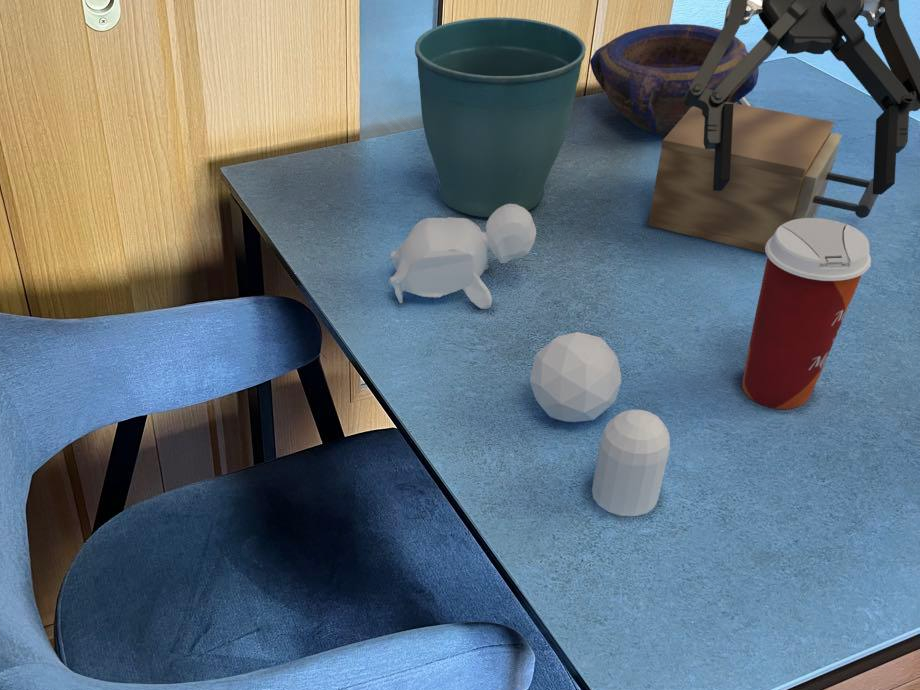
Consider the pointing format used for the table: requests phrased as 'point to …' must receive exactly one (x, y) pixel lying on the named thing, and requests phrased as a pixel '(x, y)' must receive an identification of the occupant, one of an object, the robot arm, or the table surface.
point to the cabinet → (736, 176)
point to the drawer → (818, 181)
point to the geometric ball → (576, 377)
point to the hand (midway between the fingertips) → (801, 187)
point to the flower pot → (496, 107)
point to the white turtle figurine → (459, 253)
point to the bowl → (662, 72)
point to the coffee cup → (801, 307)
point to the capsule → (631, 463)
